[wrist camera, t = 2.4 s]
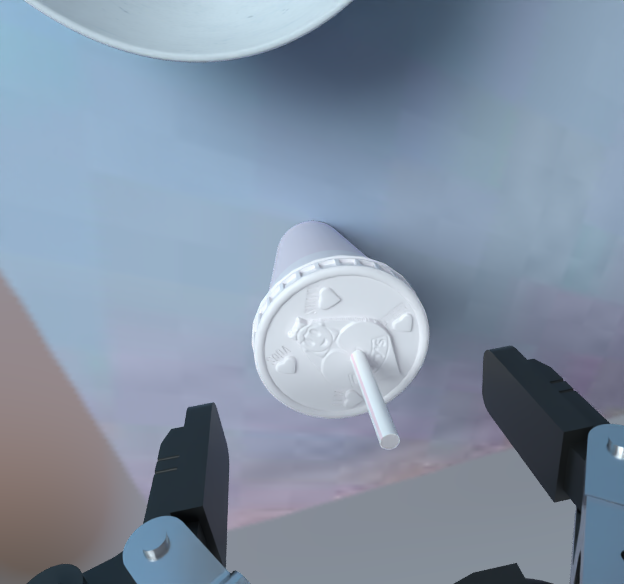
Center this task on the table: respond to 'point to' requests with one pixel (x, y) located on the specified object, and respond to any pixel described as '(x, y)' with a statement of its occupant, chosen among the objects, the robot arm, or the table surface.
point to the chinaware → (192, 25)
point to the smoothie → (338, 330)
